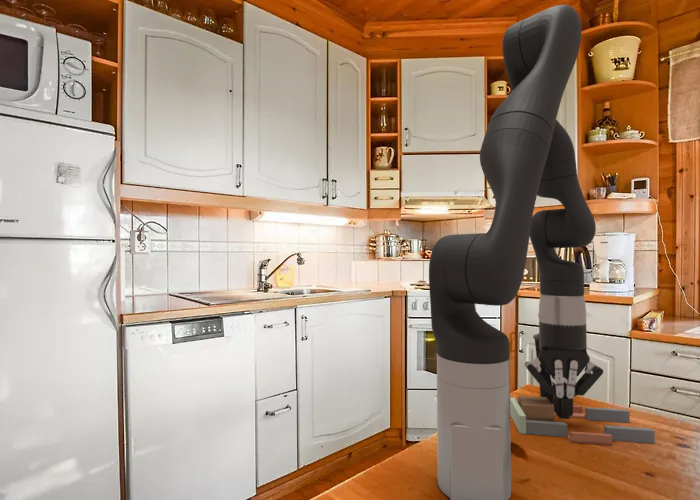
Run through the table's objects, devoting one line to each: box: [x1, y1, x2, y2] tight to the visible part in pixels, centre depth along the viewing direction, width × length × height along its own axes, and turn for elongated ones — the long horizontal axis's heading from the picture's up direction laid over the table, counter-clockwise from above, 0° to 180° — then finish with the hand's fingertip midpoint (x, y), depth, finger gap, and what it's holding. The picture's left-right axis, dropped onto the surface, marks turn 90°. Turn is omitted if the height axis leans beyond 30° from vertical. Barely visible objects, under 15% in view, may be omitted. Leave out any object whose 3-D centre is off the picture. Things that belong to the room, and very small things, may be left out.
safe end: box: [510, 396, 527, 435], centre depth 74 cm, size 9×1×3 cm, turn 169°
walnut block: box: [517, 395, 555, 422], centre depth 74 cm, size 5×5×4 cm
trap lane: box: [525, 404, 656, 446], centre depth 72 cm, size 13×20×2 cm
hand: (563, 417), depth 73 cm, fingers closed
